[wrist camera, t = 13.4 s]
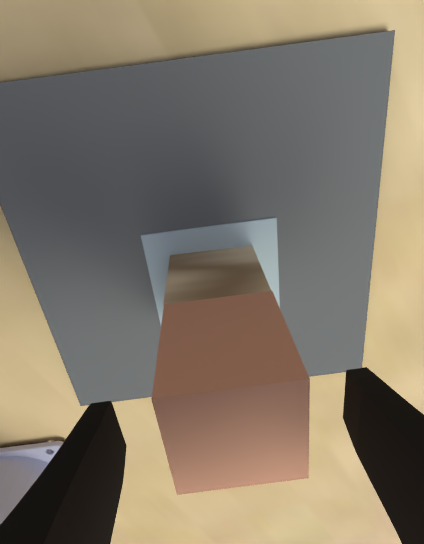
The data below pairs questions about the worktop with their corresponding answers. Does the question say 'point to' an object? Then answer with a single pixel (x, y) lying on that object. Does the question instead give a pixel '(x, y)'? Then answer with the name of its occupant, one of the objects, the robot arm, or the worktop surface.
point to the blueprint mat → (197, 195)
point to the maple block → (214, 275)
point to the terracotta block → (231, 394)
